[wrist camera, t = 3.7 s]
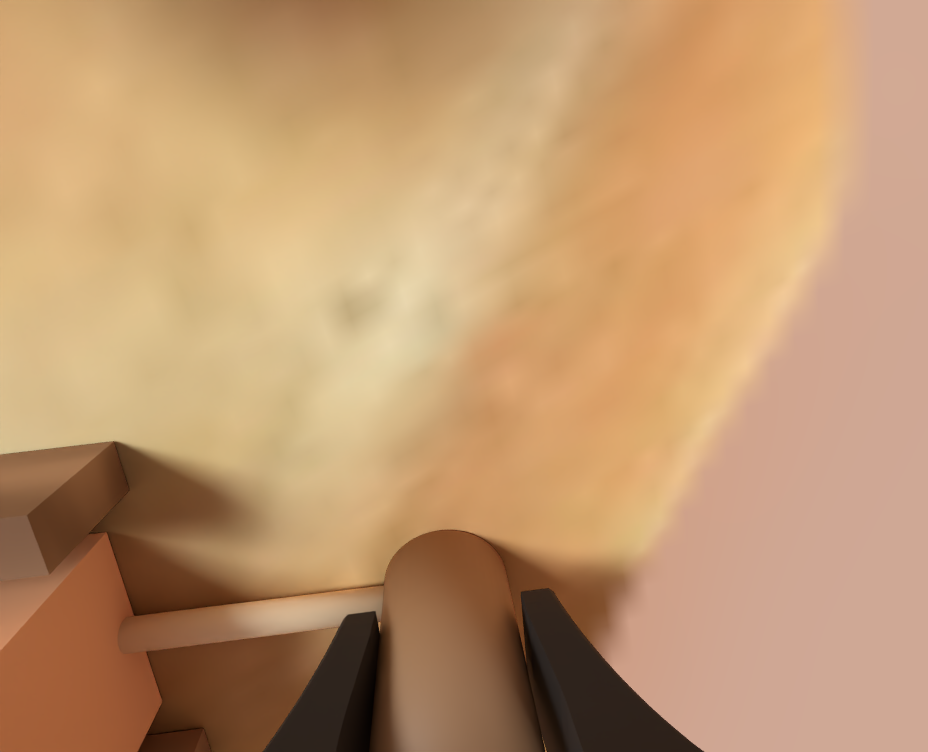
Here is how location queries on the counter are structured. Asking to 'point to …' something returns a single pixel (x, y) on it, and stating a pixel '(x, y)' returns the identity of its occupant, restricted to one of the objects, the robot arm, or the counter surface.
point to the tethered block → (396, 604)
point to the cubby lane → (65, 526)
